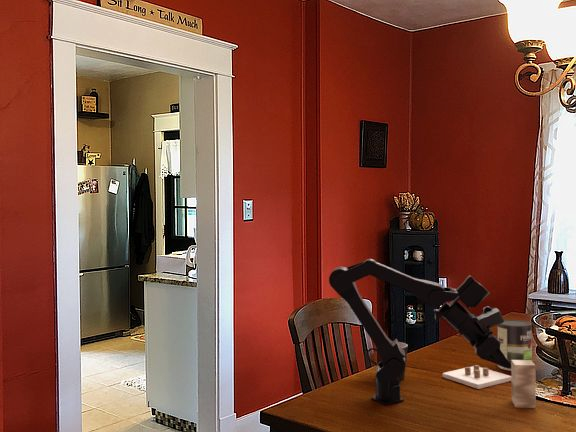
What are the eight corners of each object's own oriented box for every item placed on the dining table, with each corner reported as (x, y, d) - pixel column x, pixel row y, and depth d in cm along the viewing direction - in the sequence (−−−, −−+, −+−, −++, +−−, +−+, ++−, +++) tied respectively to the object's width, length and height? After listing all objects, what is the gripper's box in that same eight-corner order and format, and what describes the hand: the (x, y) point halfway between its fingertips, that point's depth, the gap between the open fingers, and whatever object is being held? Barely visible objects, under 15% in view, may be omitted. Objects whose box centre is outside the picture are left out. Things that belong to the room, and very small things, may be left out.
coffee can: (538, 367, 199) (538, 322, 199) (521, 373, 192) (521, 327, 192) (508, 361, 207) (507, 318, 206) (491, 367, 200) (490, 322, 200)
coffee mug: (413, 377, 191) (413, 344, 191) (397, 384, 185) (397, 350, 184) (381, 370, 199) (381, 339, 199) (365, 376, 193) (364, 344, 192)
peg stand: (442, 377, 191) (442, 366, 191) (475, 369, 198) (475, 359, 198) (478, 388, 179) (478, 377, 179) (512, 380, 186) (512, 369, 186)
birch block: (515, 407, 163) (515, 364, 163) (511, 400, 168) (511, 359, 168) (535, 407, 162) (535, 365, 162) (531, 401, 167) (531, 360, 167)
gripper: (489, 305, 157) (537, 349, 155) (479, 292, 175) (522, 332, 174) (457, 336, 158) (504, 381, 157) (450, 321, 177) (492, 361, 175)
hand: (506, 362), depth 165 cm, fingers open, 9 cm apart
